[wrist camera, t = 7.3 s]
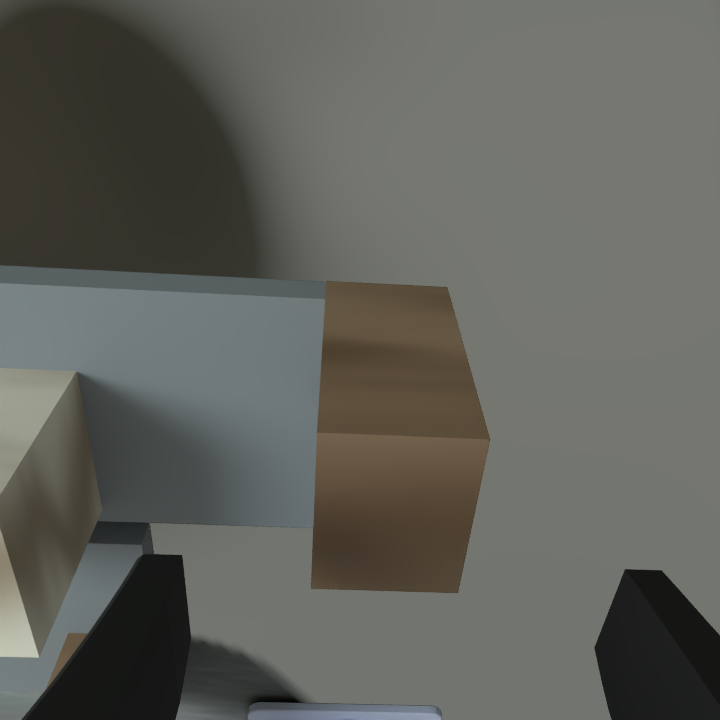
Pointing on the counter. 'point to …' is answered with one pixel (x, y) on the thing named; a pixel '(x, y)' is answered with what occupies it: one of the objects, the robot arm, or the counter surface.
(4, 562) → the block
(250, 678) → the counter surface
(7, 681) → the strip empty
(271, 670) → the counter surface
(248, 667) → the counter surface
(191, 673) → the counter surface
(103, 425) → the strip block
